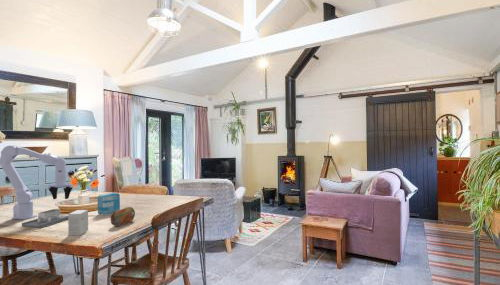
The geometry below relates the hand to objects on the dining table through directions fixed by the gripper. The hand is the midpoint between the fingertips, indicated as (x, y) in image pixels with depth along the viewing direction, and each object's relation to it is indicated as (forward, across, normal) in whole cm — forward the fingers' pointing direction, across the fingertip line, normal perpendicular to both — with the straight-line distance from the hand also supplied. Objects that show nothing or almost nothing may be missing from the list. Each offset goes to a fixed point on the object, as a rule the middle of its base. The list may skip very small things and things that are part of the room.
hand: (60, 198), depth 172 cm
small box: (+10, +36, -37) cm, 52 cm away
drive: (+8, +6, -18) cm, 21 cm away
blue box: (+10, +30, +1) cm, 32 cm away
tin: (+10, +50, -22) cm, 56 cm away
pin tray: (+9, +6, -18) cm, 21 cm away
